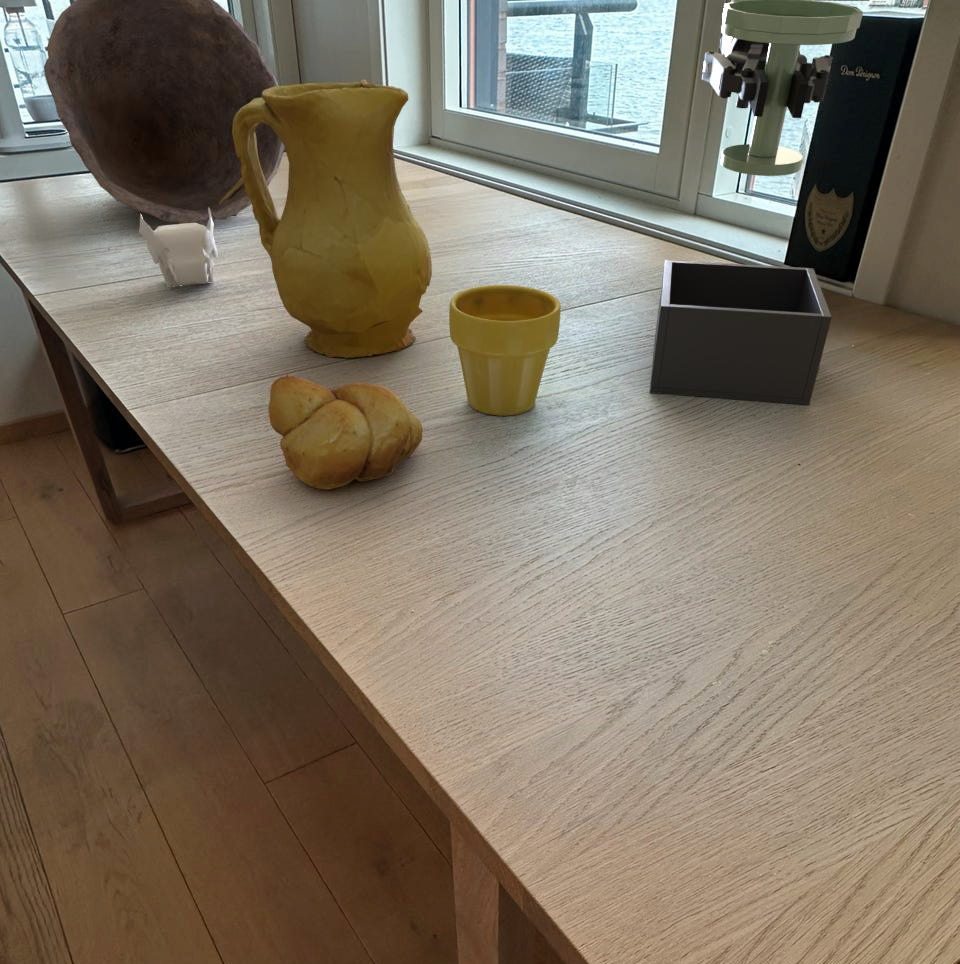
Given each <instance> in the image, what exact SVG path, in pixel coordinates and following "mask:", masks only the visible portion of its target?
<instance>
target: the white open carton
mask: <svg viewBox="0 0 960 964" xmlns="http://www.w3.org/2000/svg"><path fill="white" fill-rule="evenodd" d="M208 212H209V217H210V218H209V221H207V224H206V225H207V226H206V225H204V224H199V223H185V224H179V223H177V224H166V225H165V224H164V225H159V226H157V227H156V228H155V230H153V229H152V228H151V226H150V225H149V224H148V223H147V222H146V221H145V220H144V218H143V215H142V213H140V214H139V230H138V233H139V234H140V235H141V236H142V237H143V238H144V239H145V241H146V248H147V251H148V252H149V254H150V256H151V257H152V261H153V263H154V264H156V265H157V264H158V267H159V269H160V272H161V274H162V278H163V279H164V281H165V284H166V285H167V287H168V286H170V287H172V288H174V287H173V286H180V285H183V286H186V285H194V284H196V285H197V284H198V283H206V284H209V283H208V282H212V283H214V277H215V264H214V259H213V257H214V258H218V256H219V254H218V253H219V252H218V249H217V245H216V241H215V236H214V227H215V224H214V220H212V217H211V211H210V208H209V207H208ZM212 256H213V257H212ZM170 287H169V288H170Z"/></svg>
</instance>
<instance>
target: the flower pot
mask: <svg viewBox="0 0 960 964" xmlns="http://www.w3.org/2000/svg"><path fill="white" fill-rule="evenodd" d="M561 307H562V306H561V302H560V300H559V299H558V298H557V297H556V296H554V295H553V294H552V293H549V292H547V291H544V290H541V289H537V288H533V287H529V286H521V285H515V284H514V285H512V284H493V285H492V284H491V285H482V286H481V285H479V286H474V287H471V288H467V289H464V290H461V291H459V292H458V293H456V294H454V296H452V297H451V299H450V302H449V307H448V308H449V309H448V312H449V313H448V317H449V318H448V321H449V322H448V323H449V324H448V325H449V337H450V339H451V342H452V343H453V344H454V345H455V346H456V347H457V351H458V356H459V362H460V368H461V371H462V377H463V381H464V387H465V392H466V397H467V403H468V405H469V406H470V407H471V408H472V409H473V410H475V411H477V412H479V413H482V414H484V415H485V414H486V415H490V416H498V417H506V416H509V417H510V416H516V415H521V414H524V413H526V412H528V411H530V410H531V409H532V408H533V407H534V406H535V404H536V400H537V396H538V393H539V389H540V385H541V382H542V378H543V374H544V371H545V367H546V363H547V361H548V358H549V357H548V356H549V353H550V350H551V348H553V347H554V346H555V345H556V344H557V342H558V339H559V338H558V337H559V334H560V333H559V332H560V326H561V325H560V324H561V312H562V311H561V309H562V308H561Z"/></svg>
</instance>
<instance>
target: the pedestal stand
mask: <svg viewBox="0 0 960 964" xmlns="http://www.w3.org/2000/svg"><path fill="white" fill-rule="evenodd" d="M723 7H724V8H723V12H722V16H721V17H722V25H721V34H722V33H723V34H725V35H727V36H729V37H733V38H737V39H741V40H747V41H753V42H762V43H770V44H769V49H768V54H767V60H766V65H765V70H764V73H765V75H766V77H767V79H768V82H769V85H768V90H767V95H766V100H765V105H764V110H763V115H762V117H756V116H754V121H753V126H752V131H751V137H750V142H749V143H744V144H736V145H730V146H727V147H724V149H722V150H721V156H720V162H719V163H720V165H721V166H722V167H723V168H725V169H727V170H729V171H732V172H734V173H735V172H736V173H738V174H742V175H743V174H744V175H750V176H757V177H758V176H761V177H779V176H782V177H783V176H788V175H789V176H790V175H792V174H796V173H798V172H799V171H801V169H802V165H803V160H804V155H803V154H802V153H800V152H799V151H797V150H795V149H792V148H788V147H784V146H780V142H781V137H782V132H783V127H784V123H785V118H786V115H787V114H786V113H787V109H788V107H787V105H788V100H789V95H790V91H791V86H792V82H793V77H794V72H795V68H796V63H797V59H798V54H799V49H800V48H801V46H821V45H836V44H842V43H847V42H851V41H853V40H854V39H855V37H856V33H857V30H858V29H859V28H860V27H861V23H862V19H863V15H864V11H863V10H862V9H860V8H859V7H857V6H854V5H849V4H843V3H838V2H833V1H822V0H739V1H735V2H731V1H730V2H727V3H724V6H723Z"/></svg>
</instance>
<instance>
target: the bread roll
mask: <svg viewBox="0 0 960 964" xmlns="http://www.w3.org/2000/svg"><path fill="white" fill-rule="evenodd" d="M269 393H270V395H269V403H268V410H267V411H268V419H269V423H270V426H271V428H272V429H273V431H274V432H276V433H277V434H278V435H280V436H281V437H282V438H281V439H280V442H279V443H280V449H281V451H282V454H283V457H284V461H285V467H287V468H288V469H289V470H290V472H291V473H292V474H293V475H294V476H295V477H296V478H297V479H299V481H301V482H302V483H303V484H305V485H308V486H309V487H311V488H316V489H319V490H331V489H336V488H340V487H345V486H346V485H349V484H350V483H351V482H352V481H354V480H356V481H357V482H367V481H371V480H375V479H376V480H377V479H379V478H383V477H386V476H389V475H392V474H393V473H394V472H395V471H396V470H397V469H398V466H399V465H400V464H401V462H403V461H405V460H408V459H409V458H410V457H411V456H412V455H413V453H414V452H415V451H416V450H417V449H418V447H419V446H420V444H421V442H422V440H423V424H422V422H421V421H420V420H419V418H418V417H417V416H416V415H415V414H413V413H412V412H411V411H409V410H408V408H407V406H406V404H405V403H404V401H403V400H402V399H401V398H400V397H399V396H398V395H397V394H396V393H395V392H393V391H392V390H391V389H388V388H386V387H384V386H382V385H381V384H378V383H373V382H368V381H357V382H352V381H351V382H348V383H345V384H342V385H341V386H339V387H337V388H334V389H330V388H328V387H325V386H323V385H320V384H318V383H315V382H313V381H310V380H308V379H304V378H302V377H300V376H295V375H288V374H286V375H285V376H280V377H279V378H277V379H275V380H274V381H273V382H272V384H271V385H270V391H269Z"/></svg>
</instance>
